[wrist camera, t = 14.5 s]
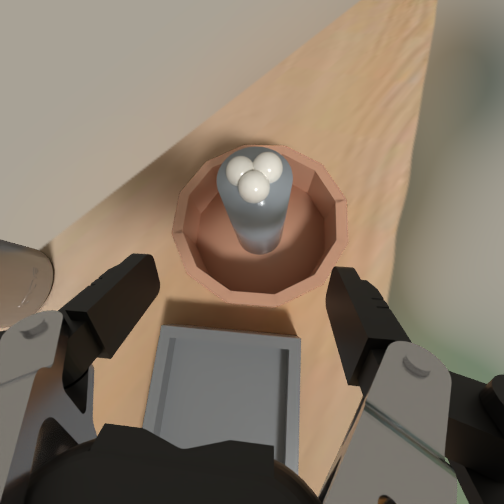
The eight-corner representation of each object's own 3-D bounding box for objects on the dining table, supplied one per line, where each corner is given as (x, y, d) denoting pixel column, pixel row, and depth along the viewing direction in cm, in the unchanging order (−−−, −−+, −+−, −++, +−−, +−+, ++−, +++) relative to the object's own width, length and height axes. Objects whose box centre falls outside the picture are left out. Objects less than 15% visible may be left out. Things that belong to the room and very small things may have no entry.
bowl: (181, 300, 23) (159, 297, 18) (202, 173, 27) (189, 143, 22) (332, 312, 22) (351, 313, 17) (330, 177, 26) (344, 146, 21)
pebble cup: (234, 252, 23) (205, 199, 12) (239, 211, 24) (218, 129, 13) (280, 256, 23) (293, 204, 12) (283, 213, 24) (297, 132, 13)
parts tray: (146, 475, 19) (128, 499, 17) (172, 323, 22) (161, 325, 20) (292, 499, 18) (297, 529, 15) (297, 335, 21) (301, 338, 19)
